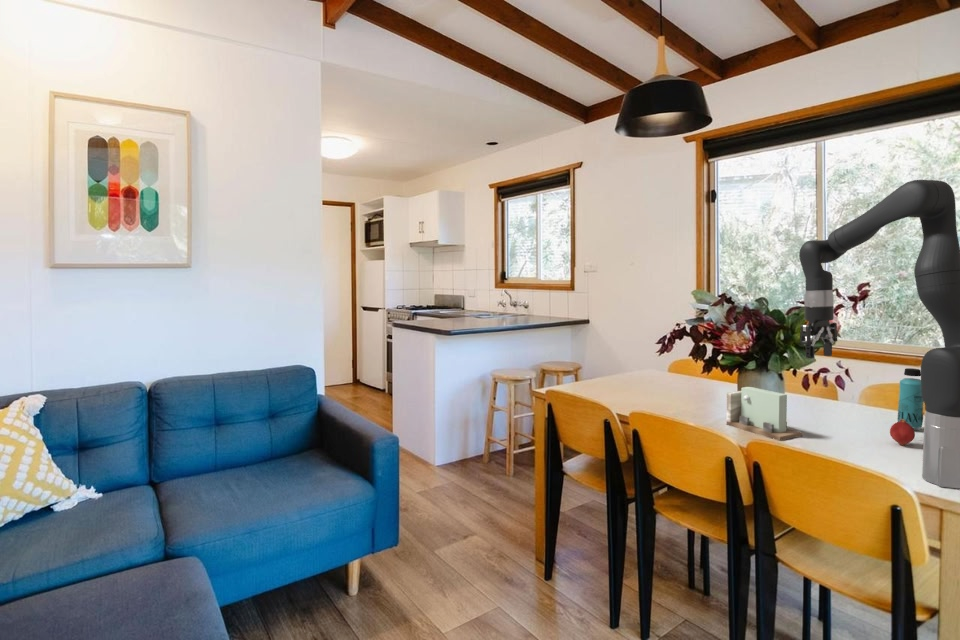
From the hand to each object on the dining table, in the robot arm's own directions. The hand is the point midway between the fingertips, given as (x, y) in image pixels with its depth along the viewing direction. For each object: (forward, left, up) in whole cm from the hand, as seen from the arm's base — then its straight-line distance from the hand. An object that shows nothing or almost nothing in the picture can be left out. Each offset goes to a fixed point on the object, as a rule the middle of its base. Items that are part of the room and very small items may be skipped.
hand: (818, 357), depth 160 cm
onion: (-1, -21, -26) cm, 33 cm away
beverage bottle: (+18, -29, -26) cm, 43 cm away
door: (+4, +15, -24) cm, 29 cm away
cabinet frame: (+4, +15, -26) cm, 30 cm away
